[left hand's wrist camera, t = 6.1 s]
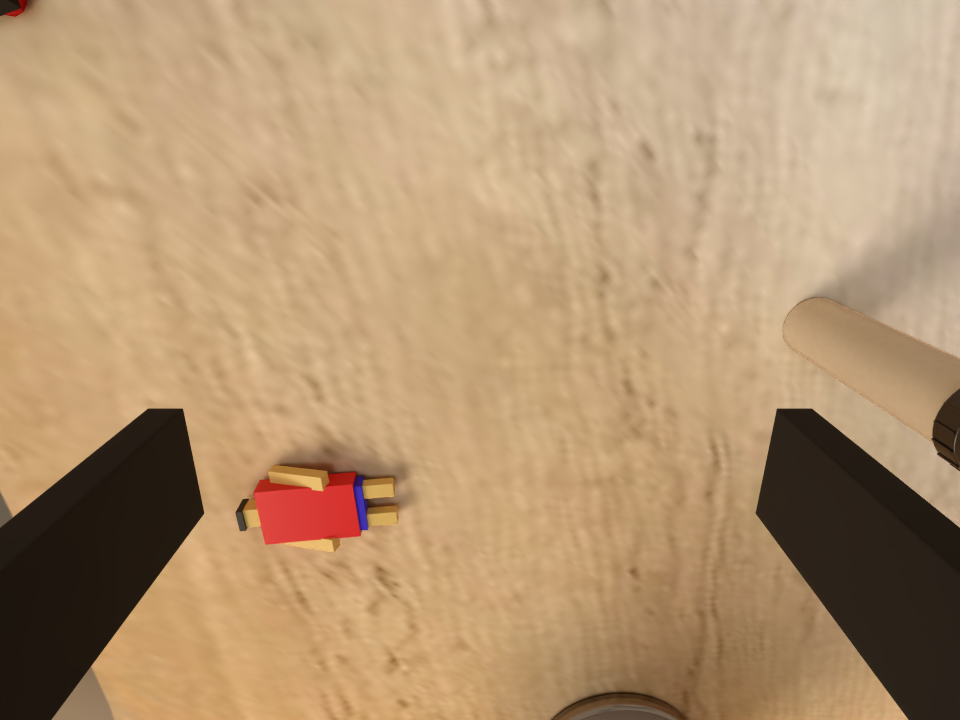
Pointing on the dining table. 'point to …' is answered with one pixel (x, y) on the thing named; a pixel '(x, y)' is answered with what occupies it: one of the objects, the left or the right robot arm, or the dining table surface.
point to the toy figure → (315, 507)
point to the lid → (948, 430)
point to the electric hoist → (12, 7)
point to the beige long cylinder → (875, 360)
